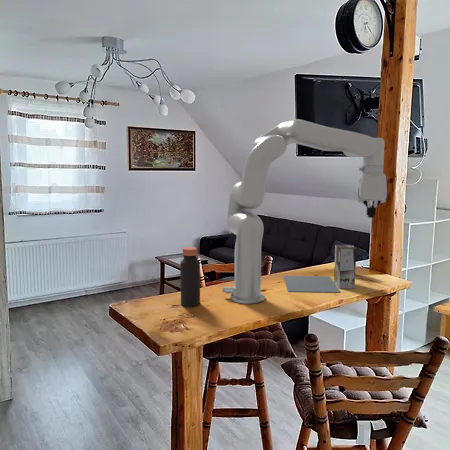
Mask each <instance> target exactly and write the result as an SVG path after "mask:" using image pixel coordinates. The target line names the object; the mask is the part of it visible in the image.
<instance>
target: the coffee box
mask: <svg viewBox="0 0 450 450" xmlns="http://www.w3.org/2000/svg"><path fill="white" fill-rule="evenodd" d="M353 246H354V245H352V244H335V245H334V247H335V248H334V271H333V272H334V275H333V282H334V283H335V285H336V286H337V288H338V289H352V290H353V289H355V284H356V283H355V282H356V265H357V264H356V263H357V250H358V249H357V248H356V247H355V246H354V247H353Z"/></svg>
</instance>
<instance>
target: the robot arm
mask: <svg viewBox="0 0 450 450" xmlns="http://www.w3.org/2000/svg"><path fill="white" fill-rule="evenodd" d="M291 144H297V145H301V146H306V147H309V148H312V149H313V148H314V149H317V150H321V151H325V152H342V153H343V154H344V155H345V156H346V157H349V158H362V166H361V167H359V168H358V171H359V172H361V174H360V176H359V180H358V181H359V182H358V187H357V188H358V189H357V203H361V204H363V205H364V206H365V207H366V216H367V217H368V218H370V219H375V216H376V212H377V211H376V208H377V207H378V206H379V205H380V204H382V203H386V202H387V195H388V191H387V187H388V186H387V177H386V173H384V163H385V162H384V160H385V145H386V144H385V139H384V138H382V137H372V136H370V135H366V134H363V133H360V132H356V131H350V130H346V129H345V130H344V129H341V128H335V127H329V126H326V125H322V124H318V123H315V122H311V121H309V120H308V121H307V120H304V119H299V118H298V119H297V118H295V119H290V120H286V121H283V122H281V123H280V124H278V125H275V126H274V127H273V128H272V129H270V130H268V131H267V132H265V133H263V134H262V135H260V136H258V137H257V138H256V139H255V140H254V141H253V144H252V149H251V151H250V152H249V153H248V155H247V157H246V159H245V162H244V165H243V171H242V177H241V181H239V182H236V183H235V184H234V185H233V187H232V189H231V191H230V194H229V199H228V200H229V201H228V206H227V207H228V208H227V216H226V225H227V228H228V230H229V231H230V232H231V233H232V234H234V235H236V238H235V245H234V284H233V285H232V286H222V288H221V291H222V293H225V294H230V297H229V298H230V300H231V301H233V302H234V303H238V304H243V305H244V304H245V305H246V304H247V305H248V304H250V305H251V304H258V303H261V302H263V301H265V299H266V296H265V294H264V293H262V292H261V291H262V290H261V289H262V287H261V285H262V279H261V278H262V245H263V244H262V242H263V236H264V230H265V229H264V223H263V221H262V219H261V218H260V216H258V215H257V214H256V213H253V210H256V209H258V208H260V207H261V206H262V205H263V203H264V199H265V194H266V193H265V192H266V184H267V176H268V172H269V168H270V167H271V165H272V164H273V162H275V161H276V160H278V159H280V158H281V157H282V156H284V154H285V153H286V151H287V147H288V145H291ZM371 201H372V204H371Z"/></svg>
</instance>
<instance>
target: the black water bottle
mask: <svg viewBox="0 0 450 450" xmlns="http://www.w3.org/2000/svg"><path fill="white" fill-rule="evenodd" d="M197 255H198V248H197V247H194V246H186V247H183V248H182V256H183V259H181V261H180V265H179V266H180V273H179V274H180V304H181V306H183V307H186V308H187V307H188V308H193V307H197V306H199V305H200V304H201V262H200V261H199V259H197Z"/></svg>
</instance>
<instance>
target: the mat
mask: <svg viewBox="0 0 450 450" xmlns="http://www.w3.org/2000/svg"><path fill="white" fill-rule="evenodd" d="M282 277H283V280H284V284H285V286H286V289H287V292H288V293H329V294H330V293H333V294H334V293H335V294H337V293H338V294H339V293H341V290H340V288H339V287H338V286H337V285H336V284H335V283H334V279H332V278H331V276H330V275H329V276H326V275H325V276H323V275H321V276H319V275H317V276H313V275H283V276H282Z"/></svg>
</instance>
